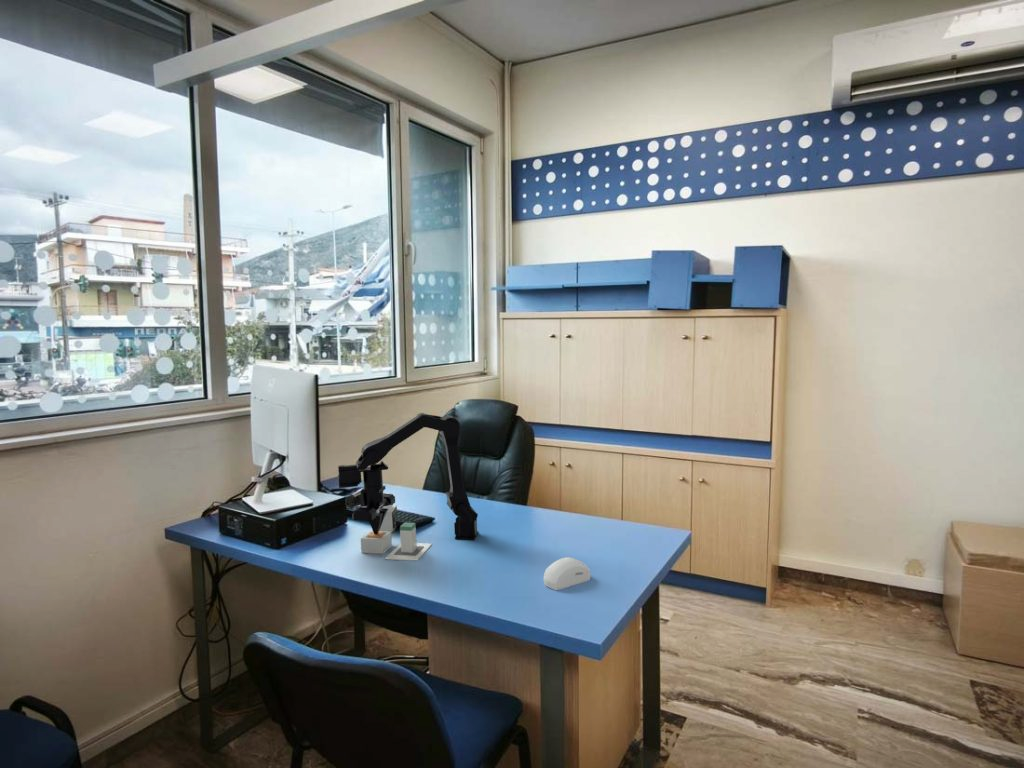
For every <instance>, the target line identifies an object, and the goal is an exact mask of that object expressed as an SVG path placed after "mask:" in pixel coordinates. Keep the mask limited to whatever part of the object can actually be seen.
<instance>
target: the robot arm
mask: <svg viewBox="0 0 1024 768" xmlns="http://www.w3.org/2000/svg"><path fill="white" fill-rule="evenodd" d="M423 428H427V429H431V430H435V431H439V432H440V435H441V438H442V441H443V443H444V445H445V447H444V448H445V454H446V455H445V456H446V461H447V468H448V477H449V483H450V485H449V486H450V489H449V491H447V492H445V496H446V505H447V506H448V508H449V509H450V510H451V511H452V513H453V514H454V515H455V516H457V517H456V518H455V522H454V540H472V541H473V540H475V539H476V537H478V536H479V534H480V532H479V531H478V516H479V515H478V513H477V512H476V510H475V509H474V508H473V507H472V506H471V503H470V501H469V500H470V499H469V496H468V494H467V491H466V489H465V487H464V486H465V485H464V480H463V472H462V465H461V458H460V457H461V455H460V450H459V441H460V436H461V433H460V432H461V424H460V422H459V420H458V419H457V418H455V417H454V416H452V415H449V414H444V415H443V416H439V415H433V414H428V413H424V412H420V413H418V414H417V415H416V416H415V417H413V418H411V419H410V420H408V421H407V422H405V423H404V424H402V425H401V426H399V427H398V428H396V429H395V430H393V431H392V432H390V433H388V434H386V436H385V435H384V436H383V437H381V438H377V439H374V440H372V441H370V442H367V443H365V444H364V445H363V447H362V448H361V451H360V452H361V455H360V456H359V458H358V459H357V461H356V462H355V464H348V465H346V464H340V465H338V466H337V469H338V472H337V473H338V474H337V480H338V489H345V488H346V489H347V488H348V489H349V488H355V487H359V485H360V484H361V483H362V479H363V488H362V489H361V490H360V492H358V493H356V494H355V493H354V494H349V495H347V496H346V497H345V500H344V502H345V503H344V506H346V507H348V508H349V510H351V509H353V508H354V507H357V506H360V507H358V508H357V509H355V510H354V511H353V512H352V514H351V515H352V521H362V522H363V521H364V522H369V525H370V527H371V531H372V530H373V532H374V534H378V533H379V530H380V528H381V525H382V522H383V520H384V517H385V515H386V513H387V511H388V509H386V508H384V506H383V505H384V504H385V503H386V502H389V503H390V505H395V503H396V496H395V495H394V494H393V493H390V494H383V493H384V491H385V490H386V485H384V482H383V481H384V480H383V471H386V470H389V466H388V464H386V463H385V462H384V461H383V459H384V458H385V457H386V456H387V455H388V454H389V452H391V450H392V449H393V448H395V447H396V446H398V445H399V444H401V443H402V442H404V441H406V440H407V439H409V438H410V437H412V436H413V435H415V434H416V433H418V432H419V431H421V430H423ZM362 477H363V478H362Z"/></svg>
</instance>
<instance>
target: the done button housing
mask: <svg viewBox="0 0 1024 768" xmlns="http://www.w3.org/2000/svg"><path fill="white" fill-rule="evenodd" d="M372 532H373V531H372V530H369V531H368V532H367V533H366V534H364V535H363V536H361V538H360V546H361V547H360V550H361V554H379V555H380V554H381V555H383V554H384V553H385V552H387V551H388V550H389V549H390V548H391V547H392V546H393V543H392V542H393V541H392V532H391V531H379V532H384V535H383V536H382V537H381V538H368V535H369V534H371V533H372Z"/></svg>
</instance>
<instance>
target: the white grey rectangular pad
mask: <svg viewBox="0 0 1024 768" xmlns="http://www.w3.org/2000/svg"><path fill="white" fill-rule="evenodd" d="M416 544H417V548H416V550H415V551H414V552H413V553H408V552H401V543H400V544H399V545H397V547H395V548H394V549H393V550H392V551H391V552H390V553H389V554H388V555H387V556H386V557H385V558H384V559H385V560H393V561H409V562H410V561H411V562H412V561H413V562H418V561H419V560H420V558H422V557H423V555H424V554H425V553H426V552H427V551H428V550H429V549H430V547H432V544H433V543H426V542H425V543H424V542H423V543H422V542H421V543H419V542H416Z"/></svg>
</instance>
